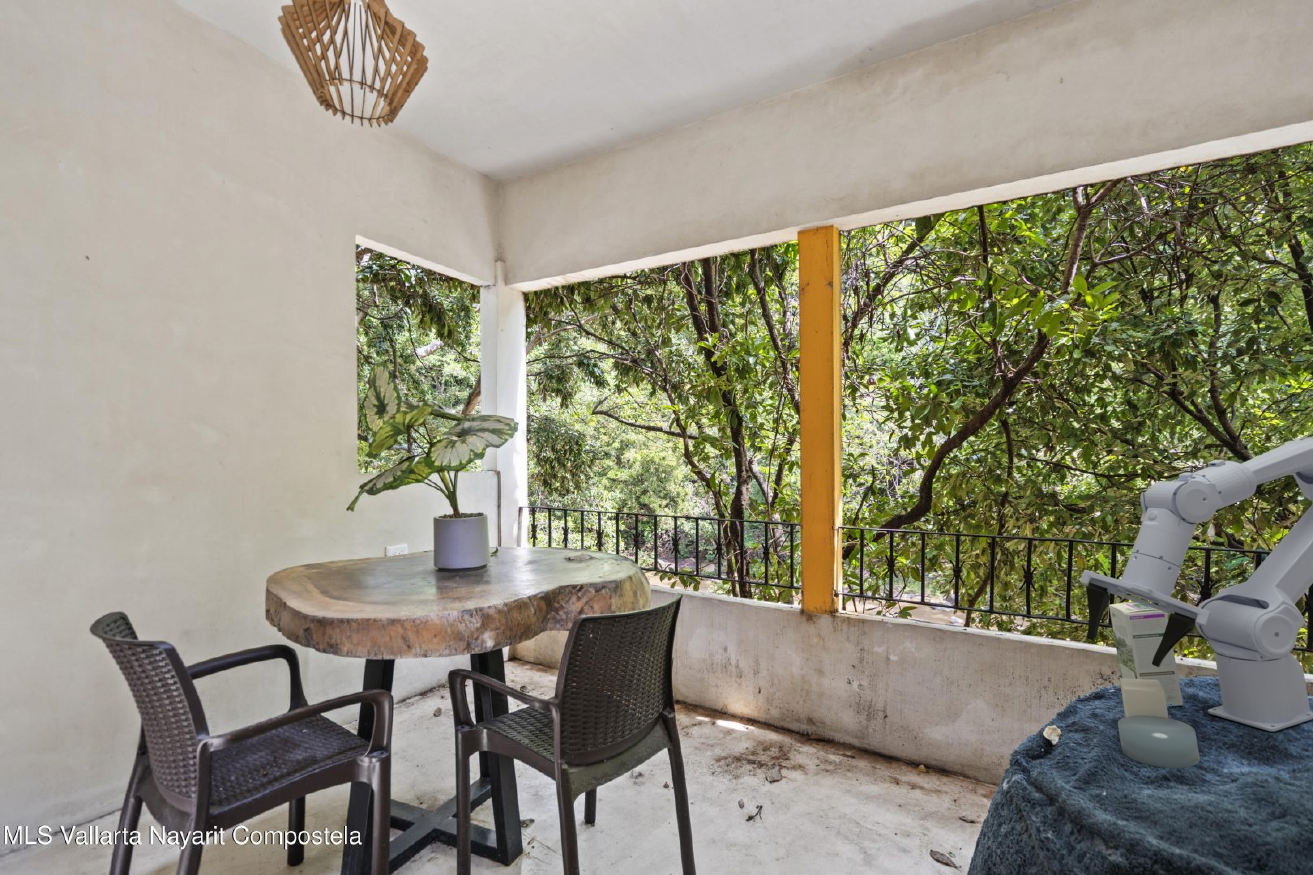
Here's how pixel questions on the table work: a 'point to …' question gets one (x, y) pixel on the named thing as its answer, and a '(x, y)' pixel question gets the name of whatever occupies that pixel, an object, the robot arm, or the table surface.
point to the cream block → (1143, 697)
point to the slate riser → (1158, 741)
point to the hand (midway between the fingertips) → (1121, 652)
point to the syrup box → (1144, 646)
